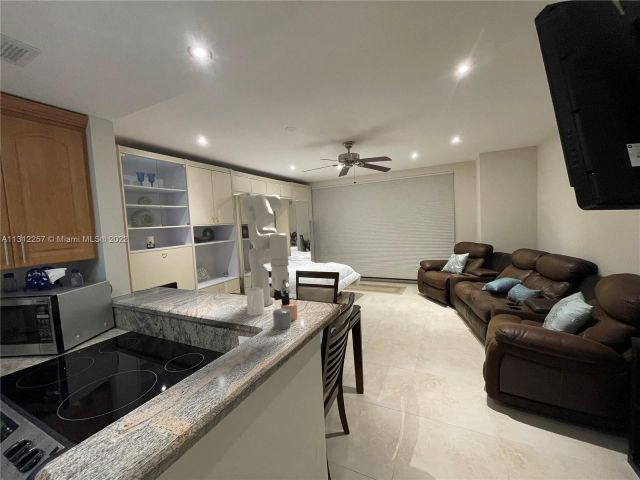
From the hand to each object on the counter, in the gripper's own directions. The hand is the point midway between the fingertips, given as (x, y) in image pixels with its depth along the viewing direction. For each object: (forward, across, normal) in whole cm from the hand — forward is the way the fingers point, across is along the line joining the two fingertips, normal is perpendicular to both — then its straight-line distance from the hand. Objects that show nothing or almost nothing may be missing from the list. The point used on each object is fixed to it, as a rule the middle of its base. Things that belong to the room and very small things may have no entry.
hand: (281, 302), depth 108 cm
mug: (+10, -23, -6) cm, 26 cm away
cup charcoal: (+11, -1, 0) cm, 11 cm away
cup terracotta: (+10, -8, +6) cm, 14 cm away
